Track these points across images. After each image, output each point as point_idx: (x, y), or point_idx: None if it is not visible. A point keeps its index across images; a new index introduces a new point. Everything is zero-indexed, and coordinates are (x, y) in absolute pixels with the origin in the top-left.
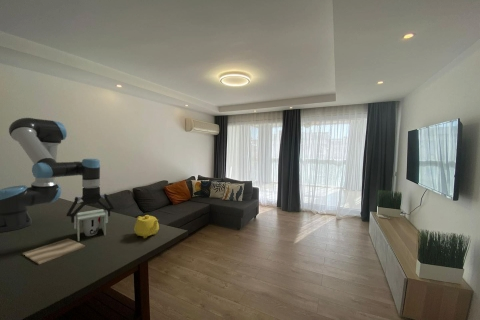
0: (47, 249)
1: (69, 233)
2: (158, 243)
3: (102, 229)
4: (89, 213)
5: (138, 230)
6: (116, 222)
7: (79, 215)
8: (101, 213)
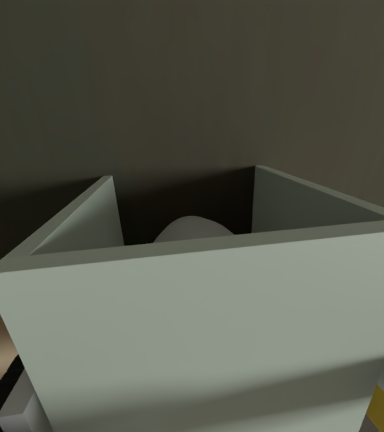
0: (8, 362)
1: (45, 146)
2: (366, 428)
3: (254, 211)
4: (207, 388)
5: (374, 421)
6: (372, 80)
7: (80, 428)
8: (328, 425)
